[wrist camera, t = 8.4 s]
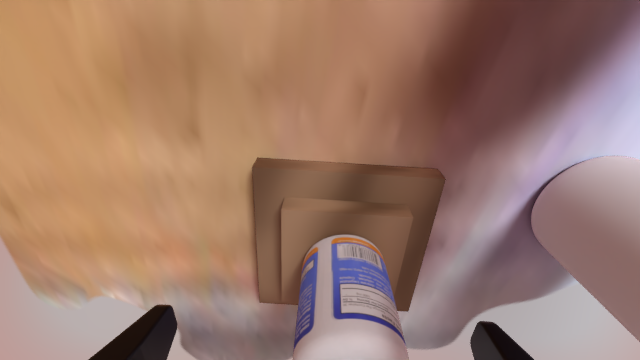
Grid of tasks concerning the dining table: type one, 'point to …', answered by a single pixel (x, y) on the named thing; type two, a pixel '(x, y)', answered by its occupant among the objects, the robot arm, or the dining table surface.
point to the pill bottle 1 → (347, 304)
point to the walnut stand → (341, 218)
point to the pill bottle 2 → (597, 231)
